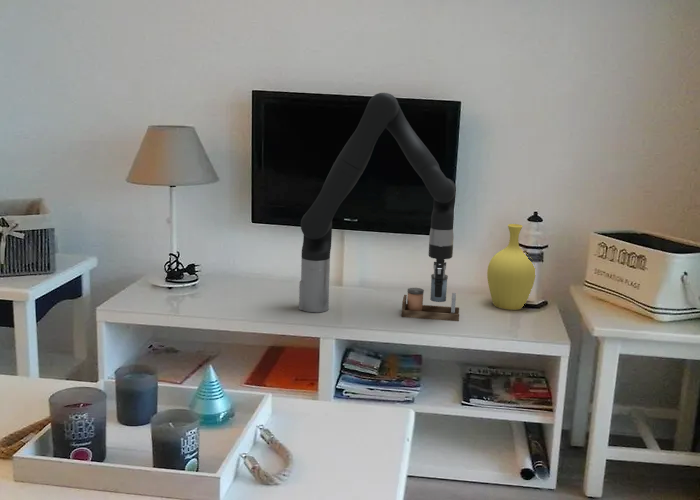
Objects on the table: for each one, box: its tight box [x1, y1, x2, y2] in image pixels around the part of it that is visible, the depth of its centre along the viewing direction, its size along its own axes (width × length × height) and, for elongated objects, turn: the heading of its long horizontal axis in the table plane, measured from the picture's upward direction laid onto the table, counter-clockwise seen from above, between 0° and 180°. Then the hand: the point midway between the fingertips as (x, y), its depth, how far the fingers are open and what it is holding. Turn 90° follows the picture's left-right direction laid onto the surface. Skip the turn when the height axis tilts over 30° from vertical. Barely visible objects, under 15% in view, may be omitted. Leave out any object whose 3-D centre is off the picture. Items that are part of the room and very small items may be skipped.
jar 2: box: [429, 273, 449, 303], centre depth 249 cm, size 5×5×8 cm
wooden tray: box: [401, 294, 460, 322], centre depth 251 cm, size 18×8×6 cm, turn 82°
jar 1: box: [406, 287, 425, 311], centre depth 251 cm, size 5×5×8 cm
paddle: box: [450, 292, 457, 314], centre depth 250 cm, size 1×6×7 cm, turn 172°
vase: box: [486, 223, 536, 311], centre depth 265 cm, size 16×16×28 cm
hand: (438, 294), depth 250 cm, fingers closed on jar 2, 5 cm apart
